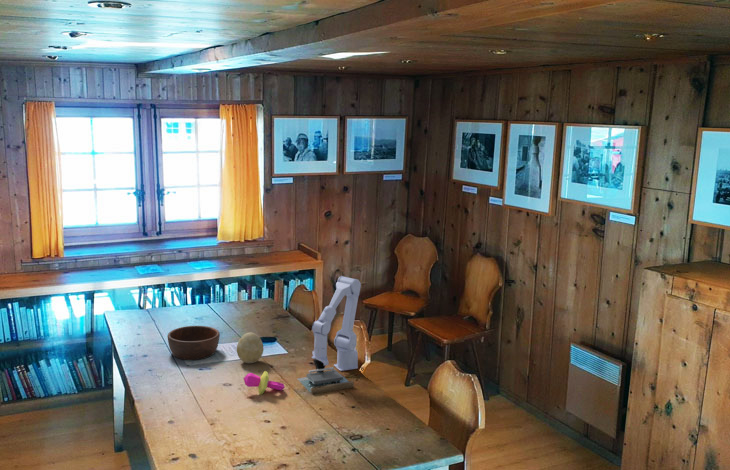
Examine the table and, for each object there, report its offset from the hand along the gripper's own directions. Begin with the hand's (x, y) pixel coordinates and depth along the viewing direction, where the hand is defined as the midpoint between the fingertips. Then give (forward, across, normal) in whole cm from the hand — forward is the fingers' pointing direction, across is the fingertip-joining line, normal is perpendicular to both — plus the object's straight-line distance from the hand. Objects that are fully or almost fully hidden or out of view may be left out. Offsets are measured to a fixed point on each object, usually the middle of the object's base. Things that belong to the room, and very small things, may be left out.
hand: (319, 374), depth 311 cm
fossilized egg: (+2, -30, -24) cm, 38 cm away
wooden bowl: (+2, -52, -46) cm, 69 cm away
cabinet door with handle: (+1, +6, 0) cm, 6 cm away
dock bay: (+2, +6, 0) cm, 6 cm away
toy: (+2, +6, -28) cm, 29 cm away
